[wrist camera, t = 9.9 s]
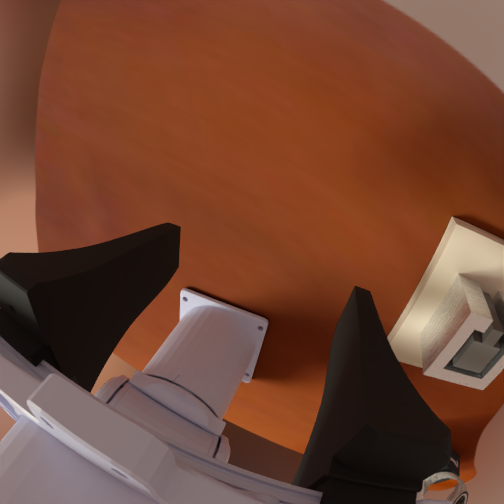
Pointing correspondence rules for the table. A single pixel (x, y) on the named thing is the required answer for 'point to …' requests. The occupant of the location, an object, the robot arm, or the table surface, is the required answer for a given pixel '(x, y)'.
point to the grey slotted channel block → (460, 333)
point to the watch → (446, 473)
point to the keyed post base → (437, 285)
